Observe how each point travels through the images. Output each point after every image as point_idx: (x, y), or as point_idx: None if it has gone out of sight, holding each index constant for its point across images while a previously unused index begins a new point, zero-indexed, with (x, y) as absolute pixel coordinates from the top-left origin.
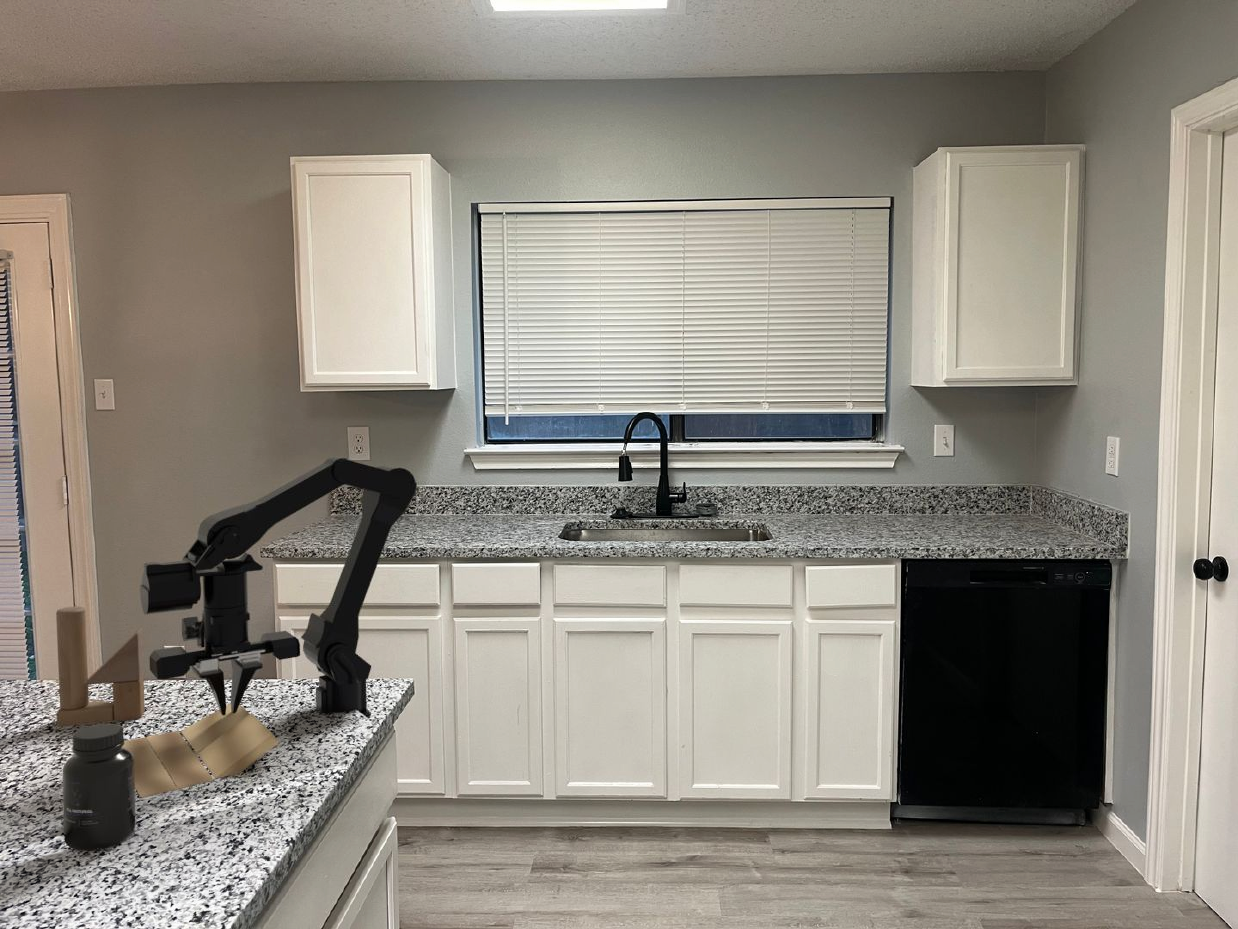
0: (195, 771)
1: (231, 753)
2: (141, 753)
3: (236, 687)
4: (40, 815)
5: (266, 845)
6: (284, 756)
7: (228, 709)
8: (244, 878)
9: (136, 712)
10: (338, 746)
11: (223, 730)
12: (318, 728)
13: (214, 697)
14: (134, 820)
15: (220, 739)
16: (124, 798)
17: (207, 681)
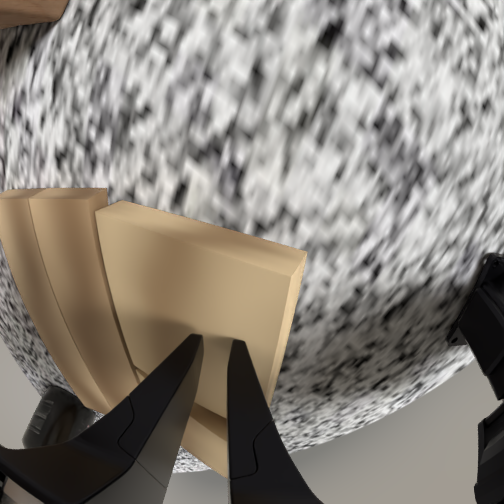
0: None
1: (183, 439)
2: (40, 295)
3: (227, 464)
4: (7, 332)
5: (194, 466)
6: (290, 403)
7: (232, 307)
8: (174, 469)
9: (20, 17)
10: (374, 407)
11: None
12: (426, 336)
13: (147, 376)
14: (92, 424)
15: None
16: None
17: (88, 435)
